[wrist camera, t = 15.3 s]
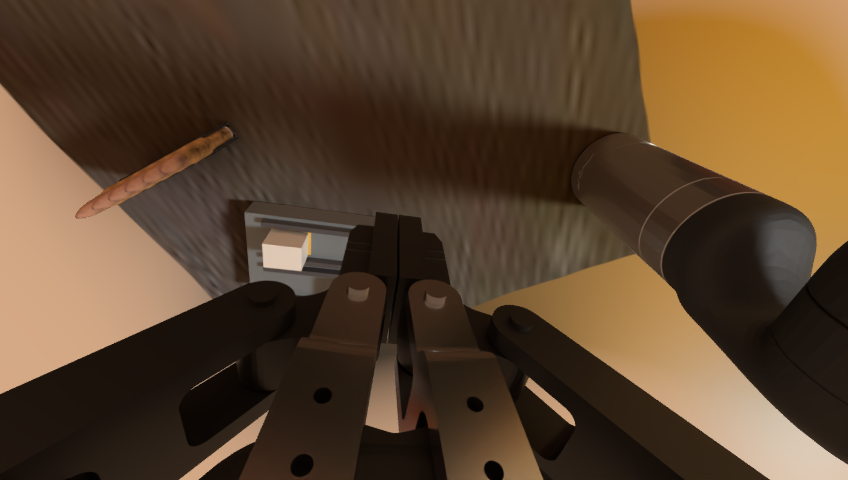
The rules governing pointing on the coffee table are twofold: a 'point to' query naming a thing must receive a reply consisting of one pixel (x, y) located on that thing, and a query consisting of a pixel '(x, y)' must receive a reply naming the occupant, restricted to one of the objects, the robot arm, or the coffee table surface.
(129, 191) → the ammunition clip
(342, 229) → the switch panel
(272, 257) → the switch
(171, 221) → the coffee table surface
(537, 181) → the coffee table surface
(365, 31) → the coffee table surface
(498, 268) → the coffee table surface
